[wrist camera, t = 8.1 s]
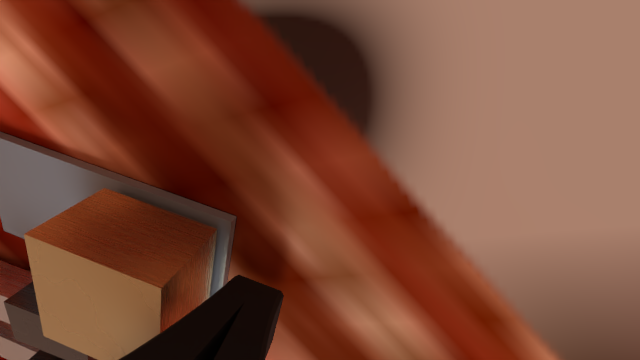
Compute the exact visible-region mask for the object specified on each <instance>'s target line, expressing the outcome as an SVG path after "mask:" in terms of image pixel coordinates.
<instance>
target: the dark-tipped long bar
mask: <svg viewBox="0 0 640 360" xmlns="http://www.w3.org/2000/svg"><path fill="white" fill-rule="evenodd" d="M0 356H1V357H3V358H5V359H7V360H64V359H62V358H60V357H57V356H55V355H52V354H50V353H47V352H45V351H42V350H40V349H37V348H35V347H33V346H30V345H28V344H25V343H23V342H20V341H18V340H15V338H14V334H13V331H12V328H11V325H10V324H9V323H6V322H4V321H1V320H0Z"/></svg>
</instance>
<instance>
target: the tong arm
mask: <svg viewBox="0 0 640 360" xmlns="http://www.w3.org/2000/svg"><path fill="white" fill-rule="evenodd" d="M0 320H1V321H4V322H6V323H9V324H10V325H11V328H12V331H13V334H14V338H15V340H18V341H20V342H23V343H25V344H28V345H30V346H33V347H35V348H37V349H40V350H42V351H45V352H47V353H50V354H52V355H55V356H57V357H60V358H62V359H64V360H97V359H95V358H93V357H91V356H88V355H86V354H84V353H81V352H79V351H77V350H75V349H72V348H70V347H68V346H65V345H63V344H61V343H59V342H56V341H54V340H52V339H49V338H47V337H45V336H44V335H43V330H42V325H41V320H40V315H39V310H38V305H37V299H36V294H35V289H34V284H33V279H32V274H31V272H30V271H27V270H25V269H22V268H19V267H17V266H14V265H11V264H8V263H6V262H3V261H0Z"/></svg>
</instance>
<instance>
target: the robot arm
mask: <svg viewBox="0 0 640 360" xmlns="http://www.w3.org/2000/svg"><path fill="white" fill-rule="evenodd" d="M283 296H284V295H283V294H282V292H281V291H280V290H277V289H275V288H272V287H269V286H267V285H264V284H262V283H259V282H256V281H254V280H251V279H249V278H246V277H243V276H241V275H238V276H235V277H234V278H233V279H231V280H230V281H229V282H228V283H227V284H225V285H224V286H223V287H222V288H221V289H219V290H218V291H217V292H216V293H214V294H213V295H212V296H211V297H209V298H208V299H207V300H206V301H204V302H203V303H202V304H200V305H199V306H198V307H196V308H195V309H194V310H192V311H191V312H190V313H188V314H187V315H185V316H184V317H183V318H181V319H180V320H178V321H177V322H176V323H174V324H173V325H171V326H170V327H169V328H167V329H166V330H164V331H163V332H161V333H160V334H158V335H157V336H155V337H153V338H152V339H150V340H149V341H147V342H146V343H144V344H143V345H141V346H140V347H138V348H137V349H135V350H133V351H132V352H130V353H129V354H127V355H125V356H124V357H122V358H120V359H119V360H265V358H266V356H267V353H268V350H269V348H270V345H271V343H272V340H273V336H274V332H275V328H276V324H277V320H278V316H279V312H280V308H281V304H282V300H283Z"/></svg>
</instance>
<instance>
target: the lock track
mask: <svg viewBox="0 0 640 360" xmlns="http://www.w3.org/2000/svg"><path fill="white" fill-rule="evenodd" d="M103 188H106V189H109V190H112V191H115V192H117V193H120V194H123V195H126V196H128V197H131V198H134V199H136V200H139V201H142V202H145V203H147V204H150V205H153V206H156V207H158V208H161V209H164V210H167V211H169V212H172V213H175V214H177V215H180V216H183V217H186V218H188V219H191V220H194V221H197V222H199V223H202V224H205V225H207V226H210V227H213V228H216V229H217V236H216V244H215V253H214V262H213V270H212V279H211V288H210V297H211V296H212V295H213V294H214V293H216V292H217V291H218V290H219V289H221V288H222V287H223V286H224V285H225V284H227V279H228V272H229V265H230V258H231V251H232V244H233V237H234V230H235V223H236V216H234V215H231V214H228V213H225V212H223V211H220V210H217V209H214V208H211V207H209V206H206V205H203V204H200V203H198V202H195V201H192V200H189V199H186V198H184V197H181V196H178V195H175V194H173V193H170V192H167V191H164V190H161V189H159V188H156V187H153V186H150V185H147V184H145V183H142V182H139V181H136V180H134V179H131V178H128V177H125V176H122V175H120V174H117V173H114V172H111V171H108V170H106V169H103V168H100V167H97V166H95V165H92V164H89V163H86V162H83V161H81V160H78V159H75V158H72V157H69V156H67V155H64V154H61V153H58V152H56V151H53V150H50V149H47V148H44V147H42V146H39V145H36V144H33V143H30V142H28V141H25V140H22V139H19V138H17V137H14V136H11V135H8V134H5V133H3V132H0V216H1V221H2V225H3V229H4V231H6V232H8V233H11V234H13V235H16V236H18V237H21V238H23V239H25V238H24V234H25V233H26V232H28V231H30V230H32V229H33V228H35V227H37V226H39V225H40V224H42V223H44V222H46V221H47V220H49V219H51V218H53V217H54V216H56V215H58V214H60V213H61V212H63V211H65V210H67V209H68V208H70V207H72V206H74V205H75V204H77V203H79V202H81V201H82V200H84V199H86V198H88V197H89V196H91V195H93V194H95V193H96V192H98V191H100V190H102V189H103Z"/></svg>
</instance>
